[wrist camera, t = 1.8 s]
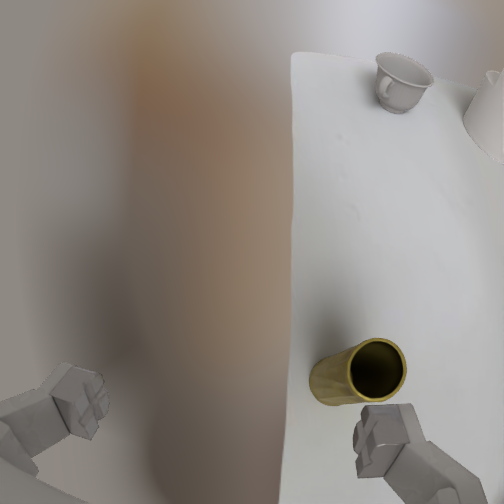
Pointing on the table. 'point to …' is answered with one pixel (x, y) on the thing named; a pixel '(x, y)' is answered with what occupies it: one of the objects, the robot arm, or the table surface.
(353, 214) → the table surface
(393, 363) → the vase
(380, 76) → the teacup
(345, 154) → the table surface
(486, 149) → the cylinder
